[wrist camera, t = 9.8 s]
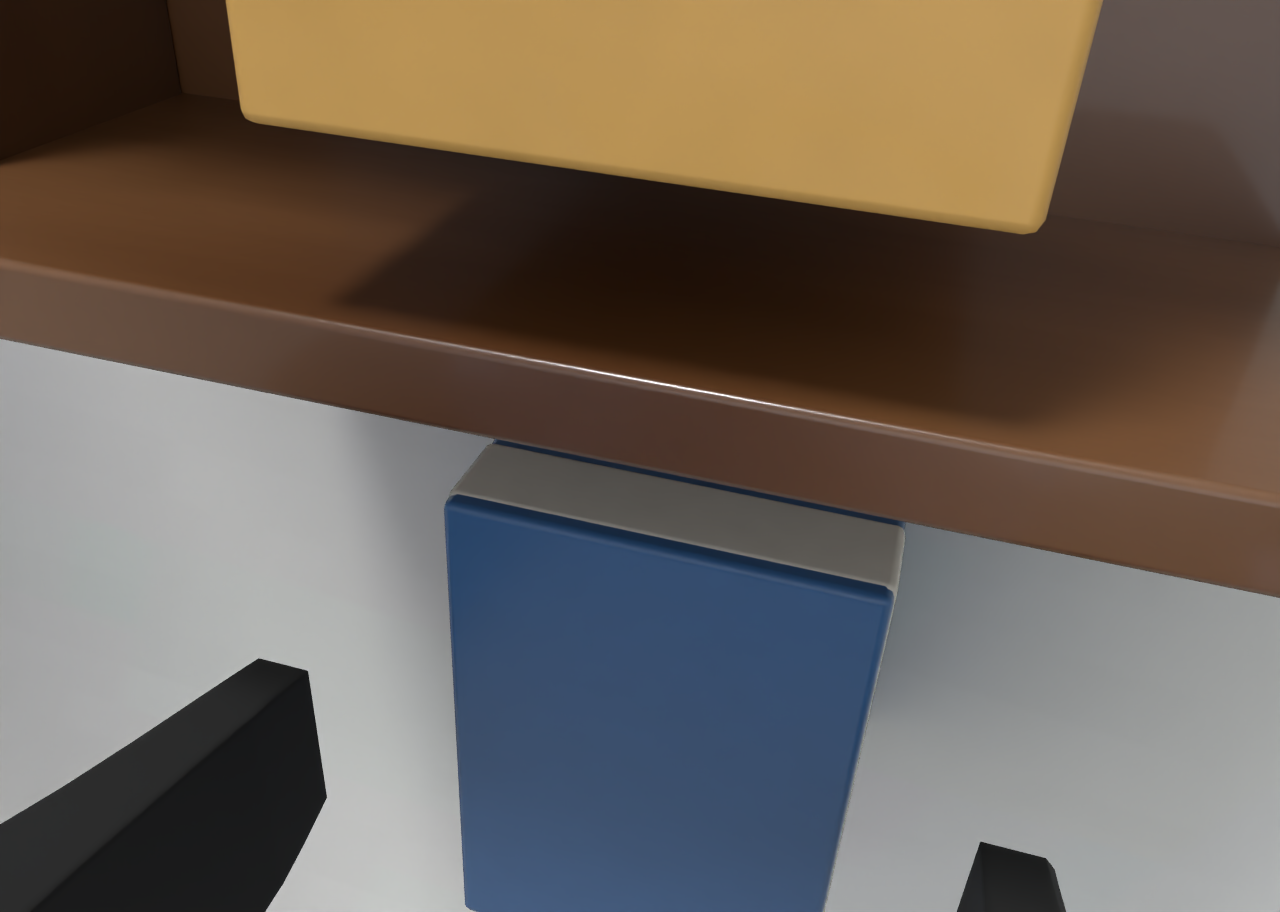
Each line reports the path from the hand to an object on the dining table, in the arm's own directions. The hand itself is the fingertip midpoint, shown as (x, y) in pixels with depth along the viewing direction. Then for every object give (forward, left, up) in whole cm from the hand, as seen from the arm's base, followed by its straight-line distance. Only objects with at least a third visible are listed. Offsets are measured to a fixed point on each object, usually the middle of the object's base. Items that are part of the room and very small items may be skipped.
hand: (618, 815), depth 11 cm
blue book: (0, 0, -6) cm, 6 cm away
